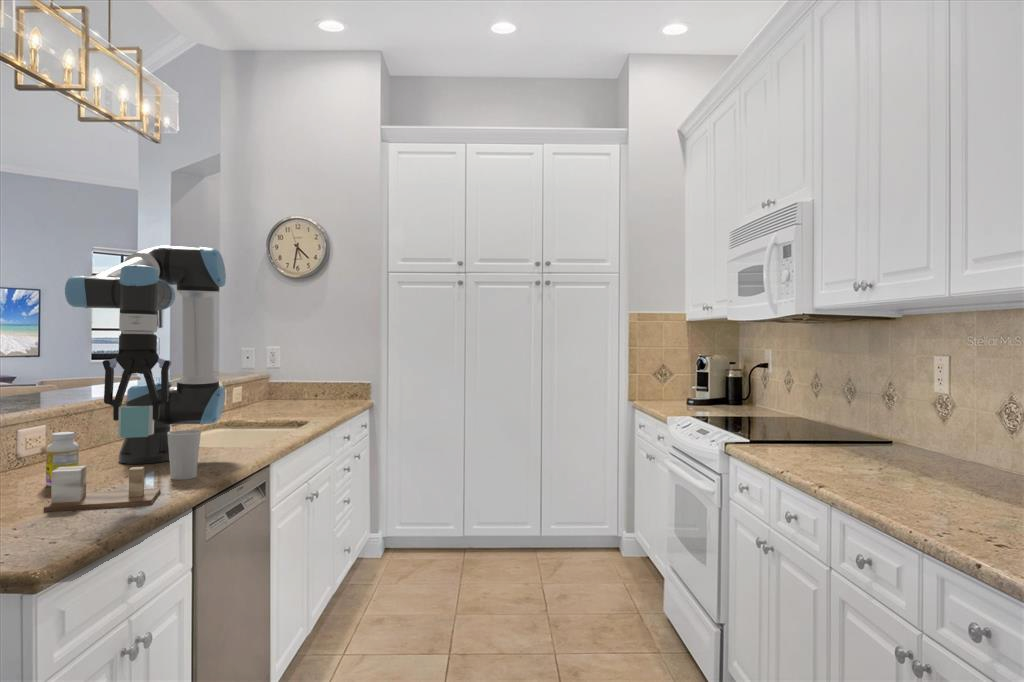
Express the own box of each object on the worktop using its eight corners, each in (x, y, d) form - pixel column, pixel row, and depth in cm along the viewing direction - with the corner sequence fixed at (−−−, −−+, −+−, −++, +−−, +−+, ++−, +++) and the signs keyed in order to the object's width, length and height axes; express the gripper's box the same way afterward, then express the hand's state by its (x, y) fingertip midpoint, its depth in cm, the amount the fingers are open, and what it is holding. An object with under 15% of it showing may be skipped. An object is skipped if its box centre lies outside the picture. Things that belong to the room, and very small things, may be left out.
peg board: (61, 498, 144) (61, 464, 144) (160, 492, 151) (160, 459, 151) (43, 511, 133) (44, 475, 133) (151, 504, 140) (152, 469, 140)
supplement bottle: (50, 482, 159) (50, 431, 159) (81, 480, 162) (82, 430, 162) (42, 488, 153) (43, 435, 153) (74, 486, 156) (75, 434, 156)
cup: (186, 481, 163) (186, 434, 163) (159, 479, 165) (160, 433, 165) (206, 474, 171) (207, 430, 171) (181, 473, 173) (182, 429, 173)
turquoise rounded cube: (125, 434, 145) (126, 406, 145) (151, 434, 147) (151, 405, 147) (120, 437, 140) (121, 408, 141) (146, 436, 142) (147, 407, 142)
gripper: (87, 332, 137) (84, 438, 137) (180, 333, 144) (178, 435, 144) (96, 332, 144) (94, 433, 144) (185, 334, 151) (183, 431, 151)
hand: (136, 434), depth 144 cm, fingers closed on turquoise rounded cube, 5 cm apart
